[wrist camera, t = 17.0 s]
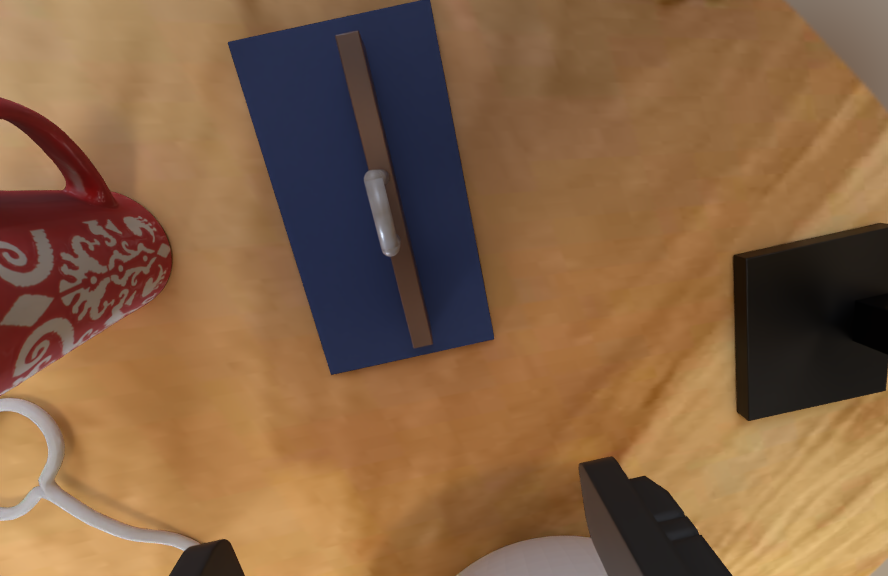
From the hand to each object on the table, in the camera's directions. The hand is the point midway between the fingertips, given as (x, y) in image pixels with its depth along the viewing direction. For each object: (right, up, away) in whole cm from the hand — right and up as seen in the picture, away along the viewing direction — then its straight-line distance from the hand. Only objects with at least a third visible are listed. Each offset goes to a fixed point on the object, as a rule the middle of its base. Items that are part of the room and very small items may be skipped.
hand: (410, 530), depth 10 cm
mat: (-3, +10, +17) cm, 20 cm away
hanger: (-2, +11, +16) cm, 19 cm away
